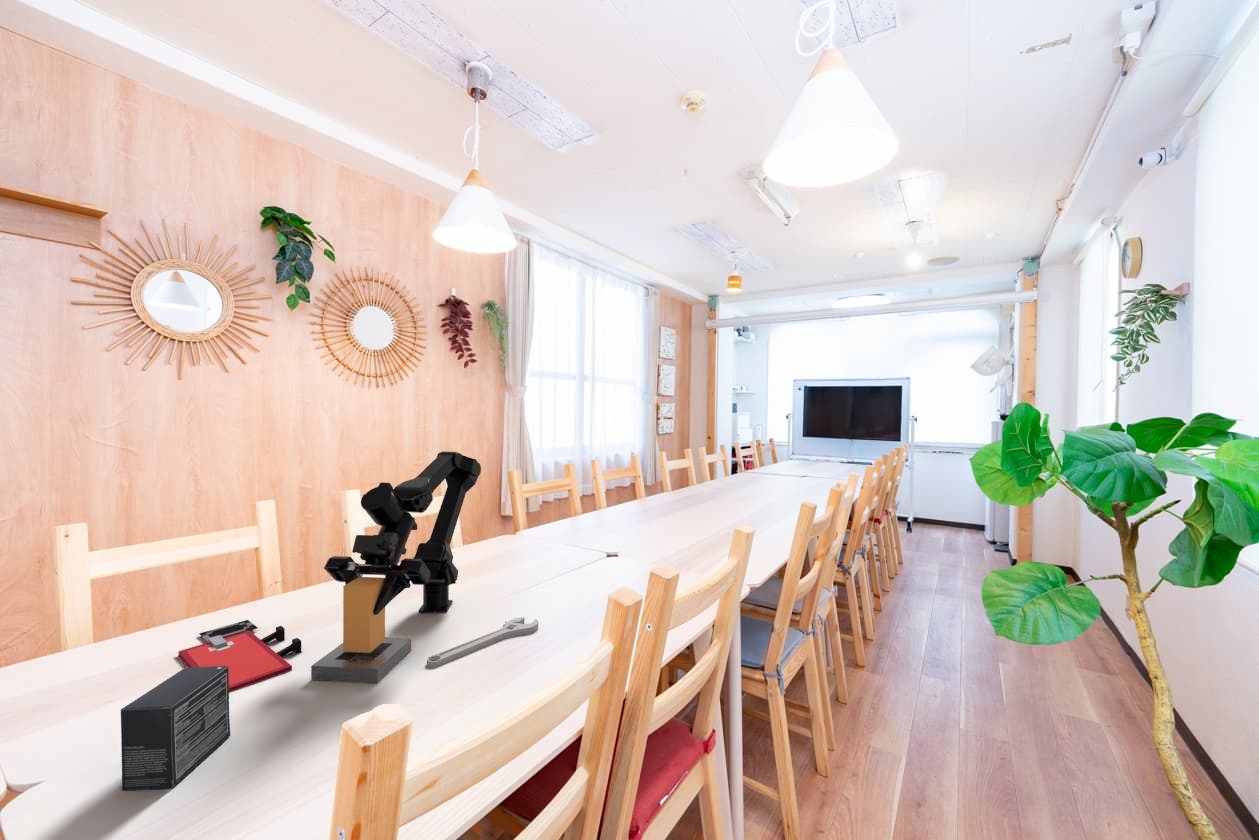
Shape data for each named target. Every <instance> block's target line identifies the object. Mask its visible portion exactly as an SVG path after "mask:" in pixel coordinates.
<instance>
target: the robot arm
mask: <svg viewBox="0 0 1259 840" xmlns="http://www.w3.org/2000/svg"><path fill="white" fill-rule="evenodd" d="M481 472H482V466H481V464H480V462H478V461H477V459H476V458H472V457H469V456H465V455H463V454H462V453H460V452H458V451H446V450H445V451H441V452H438V453H437V455H436V458H434V460H433V461H431V462H430V464H428V465H427V466H426V467H425V468H424V469H423V470H422V471H421V472H420V473H419V474H418V475H417V476H416V477H414V478H412V479H408V480H405V481H402V482H401V483H400V484H398V485H396V486H395V487H394V488H393V486H392V484H391V483H390V482H380V483H379V484H378V486H376V487H373V488H371V489H369V490H368V491H367V492H366V493H365V494H363V495H362V497H361V499H360V505H361V508H362V509H363V510H364V511H365V512H366V513H367V515H368V516H369V517H370V519H372V521H373V522H374V523H375V524H376V525H377V526H380V529H379V531H378V533H377V534H373V535H370V534H369V535H368V534H356V535H355V539H354V543H353V546H352V551H351V553H353V554H356V553H357V554H360V556H359V559H361V560H362V561H364V563H357V562H355V559H353V557H351V556H343V555H341V556H340V555H337V556H336V555H333V556H331V557H329V558H328V560H327V561H326V563H325V564H324V567H323V569H324V570H325V571H326V572H327V573H328V574H329V575H330V577H332V578H333V579H334V581H336V582H339V583H344V585H346V584H348V583H350V582H351V581H353V580H355V579H357V578H359V577H364V575H370V576H371V575H372V576H374V575H375V576H385V577H384V578H385V583H384V585H383V588H382V590H381V592H380V595H379V597H378V599H377V601H376V604H375V607H374V610H373V614H374V615H377V614H378V613H379V612H380V611H381V610H382V609H383V608H384V607H385V608H386V607H387V605H388V604H389V603H390V602H392V601H393V600H394V599H395V598H396V597H397V596H398V595H400V594H401V593H402V592H403V591H404V590H405V589H409V588H411V584H412V585H417V586H418V585H421V586H422V588H423V589H422V591H423V593H422V600H423V601H422V605H421V606H420V608H419V609H418V610H417V611H418V614H422V613H423V614H424V613H427V614H428V613H447V612H448V611H449V609H450V607H451V606H452V605H453V602H454V601H453V599H449V598H450V596H449V595H450V594H449V593H450V589H449V588H450V585H453V584H456V583H457V580H458V577H459V570H458V569H457V566H455V564H454V563H453V561H454V555H453V552H452V549H451V548H452V547H451V543H452V539H453V536H454V533H455V530H456V526H457V523H458V520H459V517H460V513H461V511H462V507H463V503H464V502H465V500H464V499H465V498H466V494H467V492H468V491H470V490H471V489H472V488H473V487H474V486H475V485H476V483H477V481H478V479H479V477H480V474H481ZM443 481H445V482H446V484H447V485H446V489H445V491H444V496H443V499H442V502H441V505H440V508H439V510H438V513H437V516H436V519H435V522H434V525H433V528H432V531H431V533H430V537H429V539H428V540H427V541H426V542H420V543H419V544H418V546H417V548H416V552H415V555H414V556H413V558H405V557H404V558H403V559H402V560H401V557H402V555H406V553H407V551H408V550H407V548H406V545H407V541H408V540H409V537H410V534H411V532H412V531H417V530H418V524H417V522H416V518H415V517H413V516H412V514H411V513H415V514H417V513H418V514H422V513H425V512H426V511H427V510H428V508H429V506H431V503H432V501H433V500H434V497H433V494H434V492H435V490H436V489H437V488H438V487H439V486H440V485H441V484H442V482H443ZM400 560H401V561H400ZM399 562H400V563H399Z"/></svg>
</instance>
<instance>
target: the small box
mask: <svg viewBox="0 0 1259 840" xmlns="http://www.w3.org/2000/svg"><path fill="white" fill-rule="evenodd" d="M228 668H229V666H210V667H190V668H189V667H184V668H183V669H181V670H179V671H178V672H175V673H174V674H173V675H171V676H170V677H169V678H166V680H164V681H162V682H161V683H159V684H158V685H157V686H154V687H153V688H152V689H150V690H149V691H147V692H146V693H144V694H143V695H142V694H141V696H140V697H138V698H136V699H135V700H133V701H132V702H130V703H128V704H127V705H126V706H124V707H122V708H121V709H120V711H119V712H120V730H121V731H120V735H121V737H120V738H121V741H120V743H121V791H124V792H125V791H149V790H166V789H167V790H169V789H174V788H176V787H177V786H178V785H179V784H180V783H181V782H182V781H183V780H184V779H185V778H186V777H187V776H188V775H190V773H192V772H193V771H194V770H195V769H196V768H197V767H198V766H200V764H202V763H203V762H204V760H206V759H207V758H208V757H209V756H210V755H211V754H213V752H214V751H216V750H217V749H218V748H219V747H220V746H221V745H222V744H224V742H225V741H227V739H228V738H230V736H231V726H230V725H231V724H230V692H229V671H228Z"/></svg>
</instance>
